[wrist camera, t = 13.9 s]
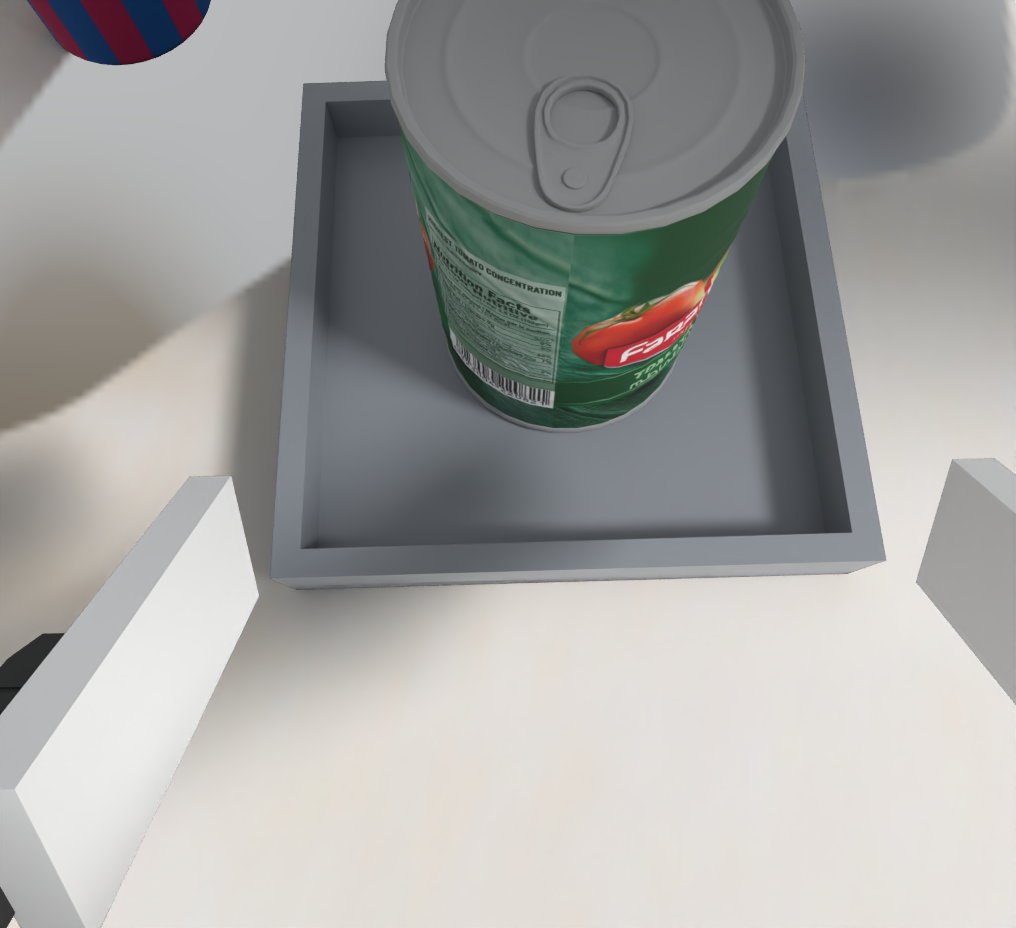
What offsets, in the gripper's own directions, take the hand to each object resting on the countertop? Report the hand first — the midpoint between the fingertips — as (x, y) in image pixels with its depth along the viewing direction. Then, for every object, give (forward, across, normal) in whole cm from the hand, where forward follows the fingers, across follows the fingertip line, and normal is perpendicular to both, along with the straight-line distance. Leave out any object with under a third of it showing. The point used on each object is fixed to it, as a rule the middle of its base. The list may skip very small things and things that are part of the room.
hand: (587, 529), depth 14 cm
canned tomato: (+12, 0, 0) cm, 12 cm away
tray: (+13, 0, 0) cm, 13 cm away
